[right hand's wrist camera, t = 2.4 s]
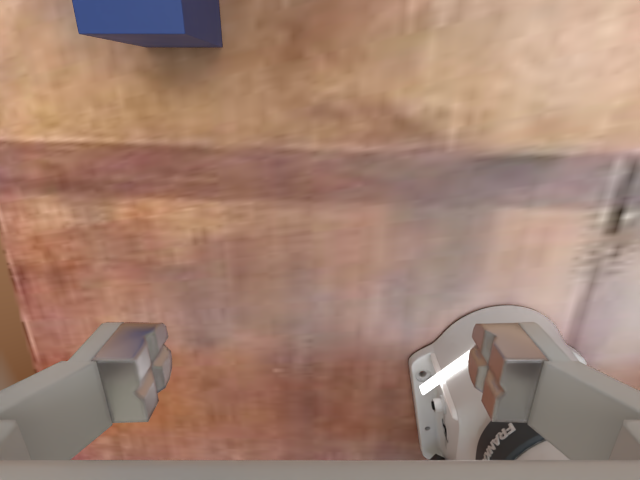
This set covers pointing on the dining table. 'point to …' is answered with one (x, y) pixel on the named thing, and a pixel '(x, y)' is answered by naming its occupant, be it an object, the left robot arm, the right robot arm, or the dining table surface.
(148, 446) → the dining table surface
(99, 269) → the dining table surface
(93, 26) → the box
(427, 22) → the dining table surface
